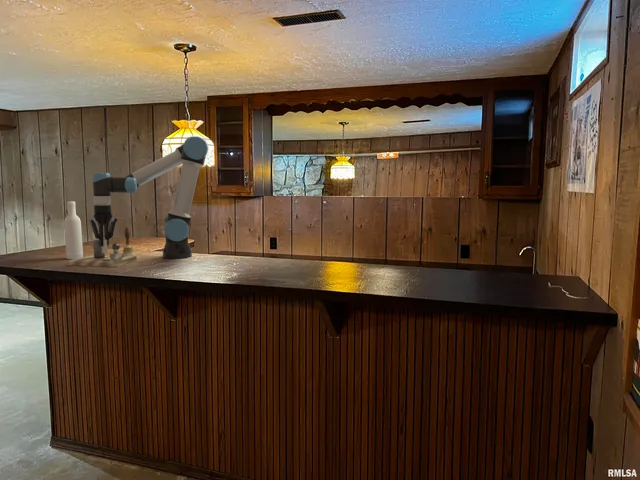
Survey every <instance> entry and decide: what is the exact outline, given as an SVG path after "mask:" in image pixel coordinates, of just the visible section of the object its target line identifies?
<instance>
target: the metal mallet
mask: <svg viewBox="0 0 640 480" xmlns="http://www.w3.org/2000/svg"><path fill="white" fill-rule="evenodd" d="M92 246H93V250H92V251H93V255H94V258H105V256H106V255H105V254H106V253H102V246H100V240H99V239H97V238H96V239H93V240H92ZM120 248H121V245H120V244H119V243H116V242H115V243H113V244H109V246H107V250H108V249H111V250H113V251H114V250H115V249H116V250H118V251H119V250H120Z"/></svg>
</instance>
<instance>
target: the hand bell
mask: <svg viewBox="0 0 640 480" xmlns="http://www.w3.org/2000/svg"><path fill="white" fill-rule="evenodd" d="M130 233H131V231H130V229H129V227H128V226H127V227H125V229H124V237H125V246H124V247H123V251H122V252H121V253H122V256H136V257H137V256H138V255H137V254H136V253H135V252H134V249H133V246H132V245H130V237H131V236H130V235H131V234H130Z"/></svg>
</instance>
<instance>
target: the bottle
mask: <svg viewBox="0 0 640 480" xmlns="http://www.w3.org/2000/svg"><path fill="white" fill-rule="evenodd" d="M66 204H67V215H66V217H65V218H64V220H63V225H64V226H63V228H64V237H65V238H64V239H65V256H66V260H74V259H77V258H81V257H84V249H83V237H82V236H83V234H82V233H83V232H82V222H81V221H82V220H81V219H80V217H79V216H78V215H77V213H76V212H77V211H76V210H77V209H76V205H77V204H76V201H74V200H72V201H70V200H69V201H67V202H66Z"/></svg>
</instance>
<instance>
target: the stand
mask: <svg viewBox="0 0 640 480" xmlns="http://www.w3.org/2000/svg"><path fill="white" fill-rule="evenodd" d="M118 251H119V250H116V249H115V250H113V251H112V253H110V254H109V255H105V258H94V254H89V255H85V256H83V257H81V258H77V259H69V260H67V261H66V265H67V266H76V267H77V266H78V267H81V266H82V267H111V268H118V267H121V266H124V265H126V264H129V263H132V262H135V261H137V256H122V253H123V252H118Z"/></svg>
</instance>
